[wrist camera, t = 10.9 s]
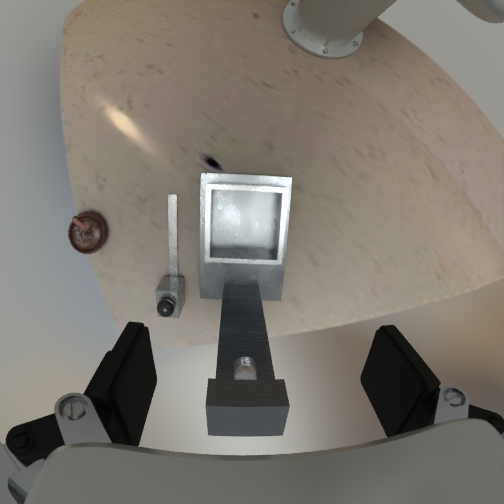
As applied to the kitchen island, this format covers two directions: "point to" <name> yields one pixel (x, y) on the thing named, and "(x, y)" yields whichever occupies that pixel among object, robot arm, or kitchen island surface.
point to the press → (241, 295)
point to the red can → (87, 232)
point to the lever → (170, 296)
